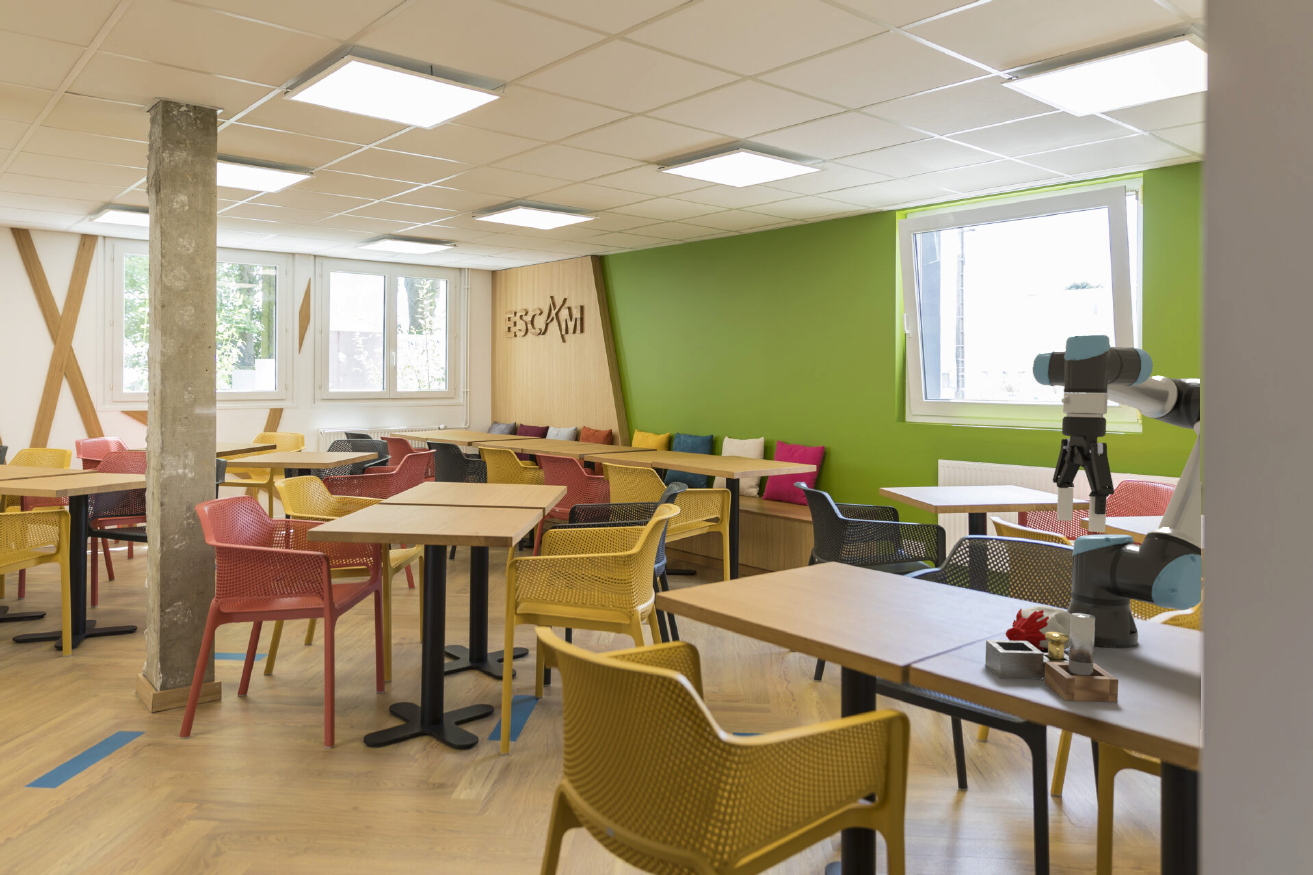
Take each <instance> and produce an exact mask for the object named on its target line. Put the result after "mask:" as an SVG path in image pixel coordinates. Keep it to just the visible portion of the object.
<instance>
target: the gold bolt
mask: <svg viewBox="0 0 1313 875" xmlns="http://www.w3.org/2000/svg"><path fill="white" fill-rule="evenodd" d="M1045 639H1046V640H1048V649H1047V653H1048V659H1050V660H1059V661H1064V653H1065V649H1064V643H1066V642H1068V635H1066V634H1063V633H1059V632H1046V633H1045Z"/></svg>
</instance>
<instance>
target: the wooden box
mask: <svg viewBox="0 0 1313 875" xmlns="http://www.w3.org/2000/svg"><path fill="white" fill-rule="evenodd" d="M1068 666H1069V663H1068V662H1045V678H1044V684H1045V685H1046V686H1047V687H1049V688H1050V689H1051V690H1052V691H1053V692H1055V693H1056V694H1057V695H1058V696H1060V697H1061V698H1062V699H1063V700H1064V701H1074V702H1075V701H1076V702H1077V701H1078V702H1107V703H1109V702H1112V703H1114V702H1115V703H1118V697H1119V696H1118V695H1119V679H1118V678H1117V677H1115V676H1114V675H1112V674H1111V673H1109V671H1107V670H1105V669H1103V668H1102V667H1100V666H1099V665H1098V664H1096V663H1095V662H1093V676H1071V675H1070V674H1069V673H1068Z"/></svg>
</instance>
